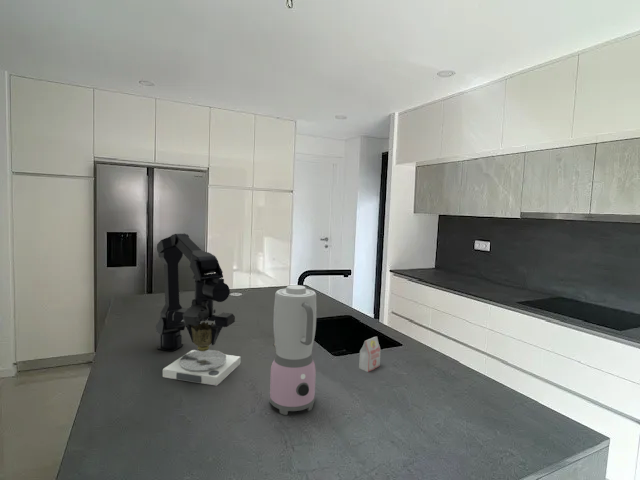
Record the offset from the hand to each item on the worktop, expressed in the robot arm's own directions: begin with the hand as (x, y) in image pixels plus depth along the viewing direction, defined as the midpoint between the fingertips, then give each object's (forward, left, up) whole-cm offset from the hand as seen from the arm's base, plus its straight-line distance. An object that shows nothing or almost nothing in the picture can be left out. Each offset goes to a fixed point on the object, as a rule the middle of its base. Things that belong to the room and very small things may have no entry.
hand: (203, 343), depth 118 cm
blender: (+34, -12, -9) cm, 37 cm away
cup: (0, 0, -2) cm, 2 cm away
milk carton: (+51, +19, -9) cm, 55 cm away
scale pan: (0, 0, -6) cm, 6 cm away
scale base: (0, 0, -9) cm, 9 cm away
